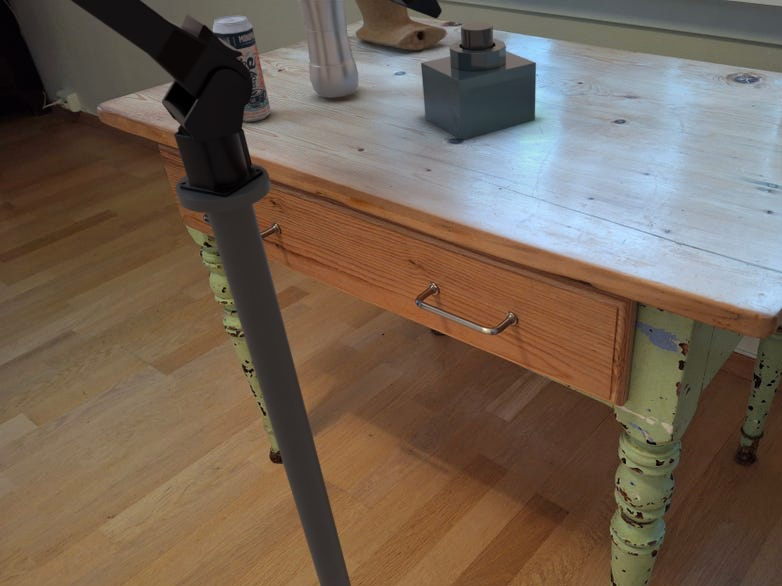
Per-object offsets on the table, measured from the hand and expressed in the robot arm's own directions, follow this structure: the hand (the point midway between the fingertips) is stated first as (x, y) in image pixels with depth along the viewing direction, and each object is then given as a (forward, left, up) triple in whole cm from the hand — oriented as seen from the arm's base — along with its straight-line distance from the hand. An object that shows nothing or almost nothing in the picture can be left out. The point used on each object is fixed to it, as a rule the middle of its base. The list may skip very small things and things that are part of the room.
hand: (430, 11), depth 79 cm
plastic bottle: (+7, +20, -14) cm, 25 cm away
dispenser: (+5, -3, -14) cm, 15 cm away
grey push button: (+5, -3, -5) cm, 8 cm away
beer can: (-4, +26, -14) cm, 29 cm away
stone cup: (+32, +25, -14) cm, 43 cm away
